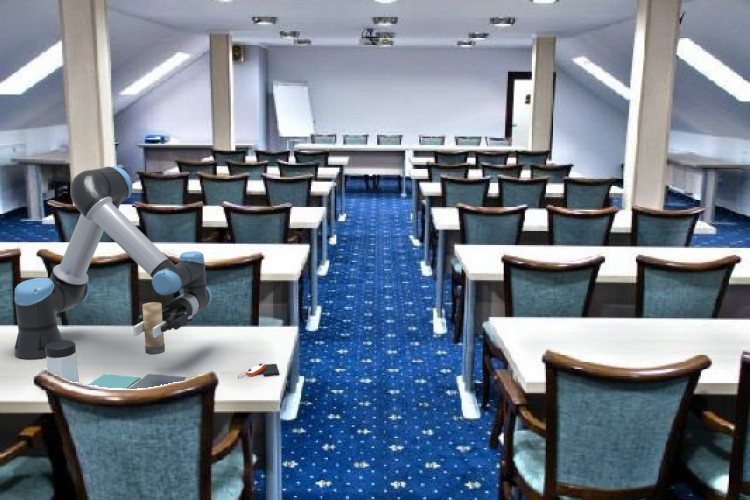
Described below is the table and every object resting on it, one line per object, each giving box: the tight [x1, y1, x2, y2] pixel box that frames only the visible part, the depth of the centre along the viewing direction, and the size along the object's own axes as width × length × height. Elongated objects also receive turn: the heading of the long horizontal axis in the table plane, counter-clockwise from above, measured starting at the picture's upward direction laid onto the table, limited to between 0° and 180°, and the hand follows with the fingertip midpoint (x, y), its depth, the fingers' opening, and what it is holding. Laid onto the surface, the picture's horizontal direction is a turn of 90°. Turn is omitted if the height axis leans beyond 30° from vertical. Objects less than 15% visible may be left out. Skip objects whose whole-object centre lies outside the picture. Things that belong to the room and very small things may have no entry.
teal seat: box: [87, 373, 141, 389], centre depth 222 cm, size 12×12×1 cm
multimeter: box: [237, 362, 280, 379], centre depth 228 cm, size 18×12×3 cm, turn 99°
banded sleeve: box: [142, 301, 166, 356], centre depth 218 cm, size 5×5×14 cm
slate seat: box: [128, 373, 186, 389], centre depth 222 cm, size 12×12×1 cm
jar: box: [45, 339, 79, 383], centre depth 221 cm, size 9×8×12 cm
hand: (144, 332), depth 213 cm, fingers closed on banded sleeve, 5 cm apart
